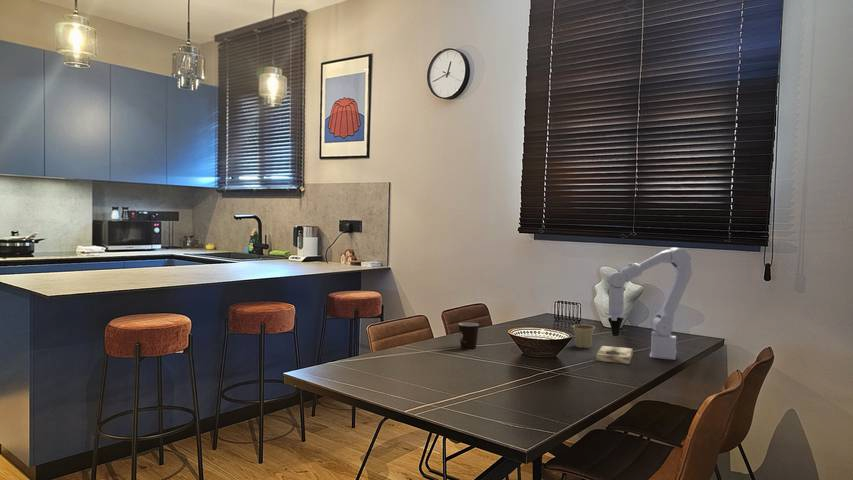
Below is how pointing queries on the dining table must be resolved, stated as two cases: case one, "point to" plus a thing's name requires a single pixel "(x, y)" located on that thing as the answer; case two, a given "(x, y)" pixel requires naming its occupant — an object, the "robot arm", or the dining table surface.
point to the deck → (622, 356)
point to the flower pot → (583, 335)
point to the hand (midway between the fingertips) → (615, 335)
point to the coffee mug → (468, 335)
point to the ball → (613, 352)
